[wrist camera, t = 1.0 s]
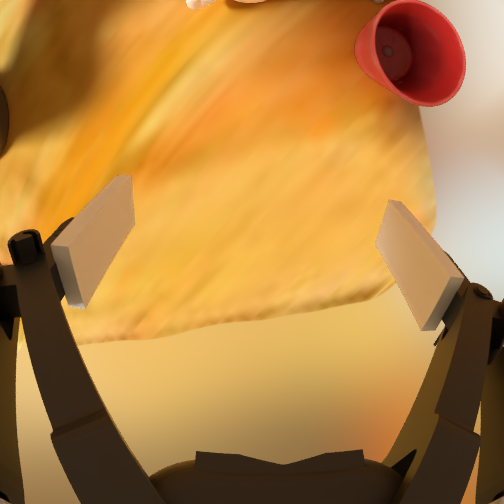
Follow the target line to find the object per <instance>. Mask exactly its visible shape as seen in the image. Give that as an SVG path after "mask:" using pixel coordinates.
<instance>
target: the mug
mask: <svg viewBox="0 0 504 504" xmlns="http://www.w3.org/2000/svg"><path fill="white" fill-rule="evenodd" d="M215 1H216V0H186V4H187V6H188V7H189V8H191V9H193V10H198V9H202V8H205V7H207V6H209V5H210V4H212V3H213V2H215ZM235 1H238V2H243V3H258V2H262V1H266V0H235Z"/></svg>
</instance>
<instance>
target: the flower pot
mask: <svg viewBox="0 0 504 504" xmlns="http://www.w3.org/2000/svg"><path fill="white" fill-rule="evenodd" d="M355 56H356V59H357V62H358V64H359V66H360V67H361V69H362V70H363V71H364V72H365V73H366V74H367V75H368V76H369V77H370V78H372V79H373V80H375V81H376V82H377V83H379V84H380V85H382V86H383V87H385V88H386V89H388V90H389V91H391V92H393V93H394V94H396V95H397V96H399V97H401V98H402V99H404V100H406V101H408V102H410V103H412V104H415V105H419V106H426V107H432V106H438V105H441V104H443V103H446V102H447V101H449V100H450V99H451V98H453V97H454V96H455V94H456V93H457V92H458V91H459V89H460V87H461V85H462V83H463V80H464V76H465V70H466V69H465V68H466V59H465V52H464V48H463V45H462V42H461V39H460V37H459V35H458V33H457V31H456V29H455V28H454V27H453V25H452V24H451V22H450V21H449V20H448V19H447V18H446V17H445V16H444V15H443V14H442V13H441V12H439V11H438V10H437V9H435V8H434V7H432V6H430V5H428V4H426V3H424V2H421V1H418V0H396V1H393V2H391V3H389V4H387V5H386V6H385V7H383V8H382V9H381V10H380V11H379V12H378V13H377V14H376V15H375V16H374V17H373V18H372V19H371V20H370V21H369V22H368V23H367V24H366V25H365V26H364V28H363V29H362V30H361V31H360V33H359V34H358V36H357V38H356V41H355Z"/></svg>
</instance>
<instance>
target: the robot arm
mask: <svg viewBox="0 0 504 504" xmlns="http://www.w3.org/2000/svg"><path fill="white" fill-rule="evenodd" d="M8 126H9V115H8V107H7V102H6V98H5V95H4V93H3V91H2V89H1V87H0V154H1V152H2V150H3V148H4V146H5V143H6V139H7V134H8ZM134 225H135V217H134V205H133V190H132V175H117V176H116V177H115V178H114V179H113V180H112V181H111V182H110V183H109V184H108V185H107V186H106V187H105V188H104V189H103V190H102V191H101V192H99V193H98V194H97V195H96V196H95V197H94V198H93V199H92V200H91V201H90V203H89V204H88V205H87V206H86V207H85V208H84V209H83V210H82V211H81V212H80V213H79V214H78V215H77V216H76V217H75V218H73V217H72V218H70V219H68V220H66V221H65V222H63V223H62V224H61V225H60V226H59V227H58V228H57V230H55V231H54V233H53V234H52V236H50V237H49V238H48V239H47V240H46V241H45V242H44V244H42V240H41V236H40V233H39V232H38V231H37V230H34V229H28V230H24V231H21V232H19V233H17V234H15V235H14V236H12V237H11V238H10V240H9V241H8V244H7V245H8V248H9V251H10V254H11V257H12V260H13V263H14V265H7V266H1V264H0V504H25V502H24V489H23V480H22V473H21V466H20V458H19V450H18V439H17V426H16V393H15V392H16V385H15V382H16V357H17V342H18V331H19V321H20V317H21V319H22V324H23V329H24V334H25V338H26V343H27V347H28V351H29V355H30V359H31V363H32V367H33V370H34V374H35V378H36V381H37V384H38V388H39V391H40V394H41V397H42V400H43V403H44V406H45V408H46V412H47V414H48V417H49V420H50V422H51V425H52V428H53V432H52V433H51V440H52V443H53V446H54V449H55V451H56V453H57V456H58V457H59V460H60V463H61V464H62V467H63V469H64V471H65V473H66V475H67V478H68V479H69V482H70V484H71V485H72V487H73V489H74V491H75V493H76V495H77V497H78V499H79V501H80V502H81V504H460V503H461V501H462V498H463V496H464V493H465V490H466V487H467V485H468V482H469V479H470V476H471V473H472V470H473V467H474V464H475V460H476V457H477V454H478V450H479V447H480V455H479V468H478V477H477V486H476V504H504V347H503V345H504V299H503V300H502V302H498V301H495V300H493V296H492V294H491V293H490V292H489V291H488V290H487V289H486V288H485V287H483V286H482V285H480V284H477V283H470V281H469V280H468V279H467V277H466V276H465V275H464V273H463V272H462V271H461V270H460V268H458V266H457V264H456V263H454V261H453V259H452V258H451V257H450V256H449V255H448V254H447V253H446V252H445V251H444V250H442V248H441V247H440V246H439V245H438V243H437V242H436V241H435V240H434V239H433V237H432V236H431V235H430V234H429V233H428V232H427V230H426V229H425V228H424V227H423V226H422V225H421V223H420V222H419V221H418V220H417V219H416V218H415V217H414V216H413V214H412V213H411V212H410V211H409V210H408V209H407V208H406V207H405V206H404V205H403V203H402V202H400V201H394V200H388V204H387V207H386V210H385V214H384V217H383V220H382V224H381V227H380V230H379V233H378V236H377V239H376V242H375V245H376V247H377V249H378V250H379V252H380V254H381V256H382V257H383V259H384V261H385V263H386V264H387V266H388V268H389V270H390V272H391V273H392V275H393V277H394V279H395V281H396V283H397V284H398V286H399V288H400V290H401V292H402V293H403V295H404V297H405V299H406V301H407V303H408V305H409V307H410V309H411V311H412V313H413V315H414V317H415V319H416V321H417V323H418V325H419V327H420V329H421V331H429V330H436V328H437V326H438V325H439V323H440V321H441V320H443V322H444V324H445V328H444V329H443V330H442V332H441V334H440V335H439V337H438V338H437V340H436V341H435V343H434V346H436V345H437V346H436V349H435V352H434V356H433V358H432V360H431V363H430V366H429V368H428V371H427V373H426V376H425V379H424V381H423V383H422V386H421V388H420V390H419V393H418V395H417V397H416V400H415V402H414V404H413V407H412V409H411V411H410V413H409V415H408V417H407V419H406V422H405V423H404V426H403V427H402V429H401V431H400V433H399V435H398V437H397V439H396V441H395V443H394V445H393V447H392V449H391V451H390V452H389V454H388V455H387V457H386V458H385V459H384V460H383V462H382V463H379V462H376V461H372V460H368V459H364V455H363V450H362V449H361V450H354V451H344V452H334V453H325V454H321V455H318V456H315V457H311V458H308V459H305V460H301V461H298V462H294V463H290V464H285V465H281V464H276V463H272V462H267V461H263V460H259V459H255V458H251V457H247V456H243V455H240V454H223V453H211V452H200V451H196V459H195V460H191V461H185V462H180V463H176V464H174V465H171V466H168V467H166V468H164V469H161V470H159V471H158V472H156V473H155V474H153V475H151V476H150V477H148V475H147V474H146V472H145V471H144V470H143V468H142V466H141V465H140V463H139V462H138V460H137V459H136V457H135V456H134V454H133V453H132V451H131V450H130V448H129V447H128V445H127V443H126V441H125V440H124V438H123V437H122V435H121V433H120V431H119V430H118V428H117V426H116V424H115V423H114V421H113V419H112V417H111V415H110V414H109V412H108V410H107V408H106V406H105V404H104V402H103V400H102V398H101V396H100V395H99V393H98V391H97V388H96V386H95V384H94V382H93V380H92V378H91V376H90V374H89V372H88V370H87V367H86V365H85V363H84V361H83V358H82V356H81V354H80V351H79V349H78V347H77V344H76V342H75V339H74V337H73V334H72V332H71V329H70V327H69V324H68V321H67V319H66V316H65V313H64V310H63V308H62V305H61V300H62V298H63V297H64V295H65V297H66V300H67V302H68V305H69V306H70V307H76V308H82V309H86V307H87V305H88V303H89V301H90V300H91V298H92V296H93V294H94V292H95V290H96V289H97V287H98V285H99V283H100V281H101V280H102V278H103V276H104V274H105V273H106V271H107V269H108V267H109V266H110V264H111V262H112V261H113V259H114V257H115V256H116V254H117V252H118V251H119V249H120V247H121V246H122V244H123V242H124V241H125V239H126V238H127V236H128V234H129V233H130V231H131V230H132V228H133V226H134ZM437 343H438V344H437ZM480 401H481V435H479V434H477V433H475V432H473V431H474V426H475V422H476V418H477V414H478V410H479V406H480Z"/></svg>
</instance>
